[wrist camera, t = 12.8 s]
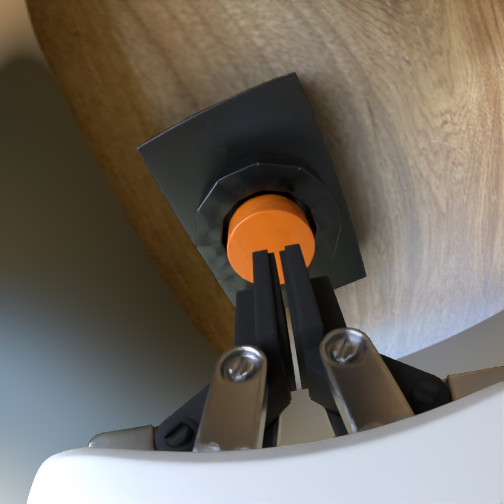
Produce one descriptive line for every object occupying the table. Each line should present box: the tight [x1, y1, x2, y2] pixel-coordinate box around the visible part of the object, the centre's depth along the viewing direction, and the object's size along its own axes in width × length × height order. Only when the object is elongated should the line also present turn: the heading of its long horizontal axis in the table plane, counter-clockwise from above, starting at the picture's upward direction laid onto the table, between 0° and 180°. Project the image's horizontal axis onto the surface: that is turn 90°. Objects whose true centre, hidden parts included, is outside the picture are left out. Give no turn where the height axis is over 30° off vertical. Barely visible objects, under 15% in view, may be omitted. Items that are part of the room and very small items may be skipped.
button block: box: [137, 72, 366, 308], centre depth 15 cm, size 12×8×4 cm, turn 25°
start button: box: [227, 194, 315, 284], centre depth 13 cm, size 4×4×2 cm
